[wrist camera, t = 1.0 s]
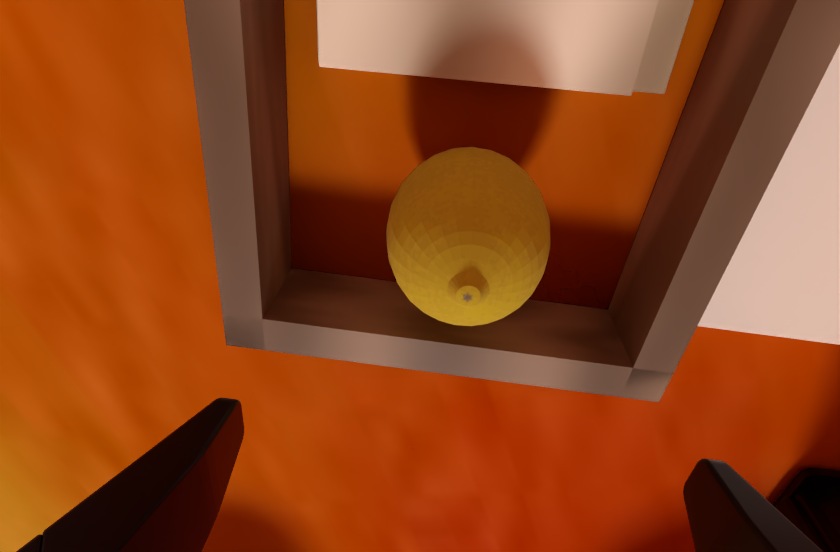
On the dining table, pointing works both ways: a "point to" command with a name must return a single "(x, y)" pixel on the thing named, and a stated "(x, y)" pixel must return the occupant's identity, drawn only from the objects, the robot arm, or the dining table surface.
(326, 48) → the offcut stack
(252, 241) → the walnut rack
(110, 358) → the dining table surface
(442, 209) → the lemon
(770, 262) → the tile
